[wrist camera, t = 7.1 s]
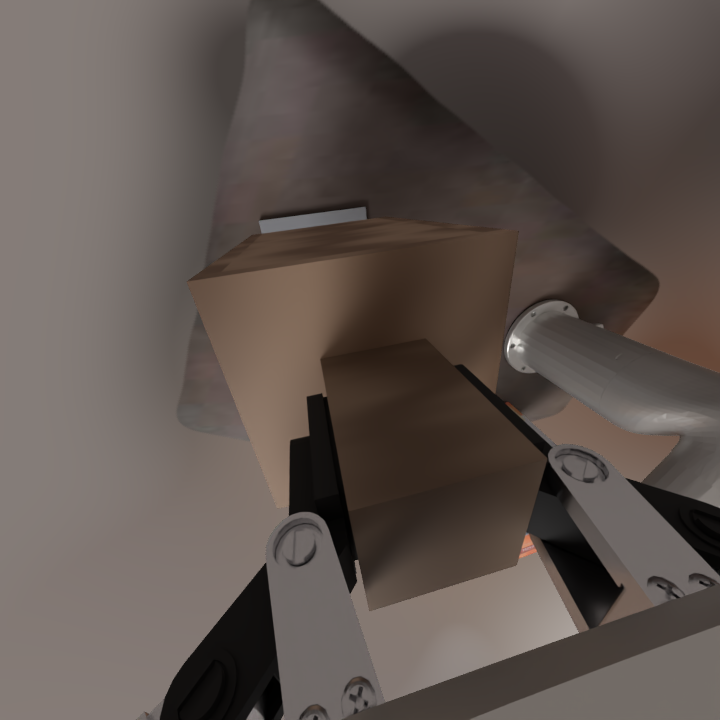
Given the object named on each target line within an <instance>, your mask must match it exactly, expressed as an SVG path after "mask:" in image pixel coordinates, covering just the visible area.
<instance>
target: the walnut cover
mask: <svg viewBox="0 0 720 720" xmlns="http://www.w3.org/2000/svg"><path fill="white" fill-rule="evenodd" d="M518 233H519V231H515V230H505V229H496V228H487V227H478V226H468V225H459V224H450V223H440V222H431V221H422V220H413V219H403V218H394V217H380V218H373V219H365V220H358V221H351V222H343V223H336V224H329V225H322V226H314V227H307V228H300V229H292V230H285V231H278V232H270V233H263V234H256V235H251V236H250V237H249V238H247V239H246V240H244V241H243V242H242V243H240V244H239V245H237V246H236V247H234V248H233V249H232V250H230V251H229V252H227V253H226V254H225V255H223V256H222V257H220V258H219V259H218V260H216V261H215V262H213V263H212V264H211V265H209V266H208V267H206V268H205V269H204V270H202V271H201V272H199V273H198V274H197V275H195V276H194V277H192V278H191V279H190V280H188V281H187V284H188V286H189V289H190V291H191V294H192V296H193V299H194V301H195V303H196V306H197V309H198V311H199V314H200V316H201V319H202V321H203V324H204V326H205V329H206V331H207V334H208V336H209V339H210V341H211V344H212V346H213V349H214V351H215V354H216V356H217V359H218V361H219V364H220V366H221V369H222V371H223V374H224V376H225V379H226V381H227V384H228V386H229V389H230V391H231V394H232V396H233V399H234V401H235V404H236V406H237V409H238V411H239V414H240V416H241V419H242V421H243V424H244V426H245V428H246V431H247V433H248V436H249V438H250V441H251V443H252V446H253V448H254V451H255V453H256V456H257V458H258V461H259V463H260V466H261V468H262V471H263V473H264V476H265V478H266V481H267V483H268V486H269V488H270V491H271V493H272V496H273V498H274V501H275V503H276V506H277V508H278V509H279V508H283V507H286V506H289V464H290V440H293V439H297V438H301V437H306V436H309V424H308V411H307V396H311V395H316V394H321V393H322V394H323V397H327V399H328V404H329V410H330V415H331V421H332V426H333V431H334V437H335V442H336V448H337V453H338V458H339V464H340V469H341V475H342V480H343V486H344V491H345V496H346V502H347V507H348V513H349V517H350V522H351V527H352V531H353V536H354V541H355V546H356V550H357V555H358V560H359V565H360V569H361V574H362V578H363V583H364V588H365V593H366V597H367V602H368V607H369V611H372V610H375V609H378V608H382V607H385V606H388V605H391V604H395V603H398V602H401V601H404V600H407V599H411V598H414V597H417V596H420V595H423V594H426V593H430V592H433V591H436V590H439V589H443V588H446V587H449V586H452V585H455V584H459V583H461V582H465V581H468V580H471V579H474V578H478V577H481V576H484V575H487V574H491V573H494V572H496V571H500V570H503V569H506V568H509V567H513V566H516V565H517V562H518V559H519V555H520V552H521V549H522V545H523V542H524V538H525V535H526V531H527V528H528V524H529V521H530V518H531V514H532V511H533V507H534V504H535V500H536V497H537V493H538V490H539V487H540V483H541V480H542V476H543V473H544V469H545V466H546V462H547V459H548V458H547V457H546V456H545V455H543V454H542V453H541V452H540V451H539V450H538V449H537V448H536V447H535V446H534V445H533V444H532V443H531V442H530V441H529V440H528V439H527V438H526V437H525V436H524V435H523V434H522V433H521V432H520V431H519V430H518V429H517V428H516V427H515V426H514V425H513V424H512V423H511V422H510V421H509V420H508V419H507V418H506V417H505V416H504V415H503V414H502V413H501V412H500V411H499V410H498V409H497V408H496V407H495V406H494V405H493V404H492V403H491V402H490V401H489V400H488V399H487V398H486V397H485V396H484V395H483V394H482V393H481V392H480V391H479V390H478V389H477V388H476V387H475V386H473V385H472V384H471V383H470V382H469V381H468V380H467V379H466V378H465V377H464V376H463V375H462V374H461V373H460V372H459V371H458V370H457V369H456V368H455V367H454V365H458V364H463V365H464V366H465V367H466V368H467V369H468V370H470V371H471V372H472V373H473V374H474V375H475V376H476V377H477V378H478V379H479V380H480V381H481V382H483V383H484V384H485V385H486V386H487V387H488V388H489V389H490V390H491V391H492V392H493V393H494V394H495V393H496V386H497V379H498V372H499V365H500V358H501V351H502V344H503V337H504V330H505V323H506V317H507V310H508V303H509V296H510V289H511V282H512V275H513V268H514V261H515V254H516V247H517V240H518Z"/></svg>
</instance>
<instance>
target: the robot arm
mask: <svg viewBox="0 0 720 720" xmlns="http://www.w3.org/2000/svg"><path fill="white" fill-rule="evenodd" d="M603 328H604V326H603V324H601V323H595V324H591V323H588V322H585V321H583V320H580V319H579V317H578V313H577V311H576V310H575V308H574V307H573V306H572V305H571V304H569V303H567V302H564V301H561V300H554V299H550V300H545V301H542V302H539V303H537V304H535V305H533V306H531V307H530V308H528V309H527V310H526V311H524V312H523V313H522V314H521V315H520V316H519V317H518V318H517V319H516V321H515V322H514V323H513V325H512V326H511V328H510V330H509V332H508V334H507V337H506V339H505V344H504V354H505V358H506V360H507V362H508V363H509V364H510V366H511V367H513V368H514V369H516V370H517V371H519V372H523V373H535V372H537V373H539V374H540V375H542V376H543V377H545V378H546V379H548V380H549V381H551V382H552V383H553V384H555V385H556V386H558V387H559V388H561V389H562V390H564V391H565V392H567V393H568V394H570V395H571V396H573V397H574V398H576V399H577V400H579V401H580V402H581V403H583V404H584V405H586V406H587V407H589V408H590V409H592V410H593V411H595V412H596V413H598V414H599V415H601V416H602V417H604V418H605V419H607V420H608V421H610V422H611V423H613V424H614V425H616V426H618V427H620V428H622V429H624V430H627V431H630V432H633V433H638V434H645V435H664V436H680V440H679V442H678V443H677V445H676V446H675V447H674V448H673V449H672V451H671V452H670V453H669V455H668V456H667V457H666V458H665V459H664V460H663V461H662V462H661V463H660V464H659V465H658V466H657V467H656V468H655V469H654V470H653V471H652V472H651V473H650V474H649V475H648V476H647V477H646V478H645V479H644V480H643V481H642V482H641V483H640V482H637V481H633V480H630V479H627V478H624V477H623V476H622V475H621V473H619V472H618V470H617V469H615V467H614V466H613V465H612V464H611V463H610V462H609V461H608V460H606V459H605V458H604V457H603V456H601V455H600V454H598V453H596V452H595V451H593V450H590V449H588V448H585V447H583V446H578V445H573V444H562V445H557V446H555V447H552V446H551V445H550V444H549V443H548V442H546V441H545V440H544V439H543V438H542V437H541V436H540V435H539V434H538V433H537V432H536V431H535V430H533V429H532V428H531V427H530V426H529V425H528V424H527V423H526V422H525V421H524V420H523V419H522V418H520V417H519V416H518V415H517V414H516V413H515V412H514V411H513V410H512V409H511V408H510V407H509V406H508V405H506V404H505V403H504V402H503V401H502V400H501V399H500V398H499V397H498V396H497V395H495V394H494V393H493V392H492V391H491V390H490V389H489V388H488V387H487V386H486V385H485V384H484V383H483V382H481V381H480V380H479V379H478V378H477V377H476V376H475V375H474V374H473V373H472V372H471V371H470V370H468V369H467V368H466V367H465V366H464V365H463V364H458V365H454V367H455V368H456V369H457V370H458V371H459V372H460V373H461V374H462V375H463V376H464V377H465V378H466V379H467V380H468V381H469V382H470V383H471V384H472V385H473V386H475V387H476V388H477V389H478V390H479V391H480V392H481V393H482V394H483V395H484V396H485V397H486V398H487V399H488V400H489V401H490V402H491V403H492V404H493V405H494V406H495V407H496V408H497V409H498V410H499V411H500V412H501V413H502V414H503V415H504V416H505V417H506V418H507V419H508V420H509V421H510V422H511V423H512V424H513V425H514V426H515V427H516V428H517V429H518V430H519V431H520V432H521V433H522V434H523V435H524V436H525V437H526V438H527V439H528V440H529V441H530V442H531V443H532V444H533V445H534V446H535V447H536V448H537V449H538V450H539V451H540V452H541V453H542V454H543V455H545V456H546V457H547V458H548V459H547V462H546V466H545V469H544V473H543V476H542V480H541V483H540V487H539V490H538V493H537V497H536V500H535V504H534V507H533V511H532V514H531V518H530V521H529V524H528V528H527V531H526V532H527V533H529V536H530V539H531V541H532V543H533V544H534V546H535V548H536V550H537V552H538V554H539V556H540V558H541V560H542V562H543V563H544V566H545V568H546V570H547V571H548V574H549V575H550V577H551V579H552V581H553V583H554V585H555V587H556V589H557V591H558V593H559V595H560V597H561V598H562V601H563V602H564V604H565V606H566V608H567V610H568V612H569V614H570V616H571V618H572V620H573V622H574V624H575V626H576V627H577V630H578V632H579V633H578V634H575V635H572V636H570V637H567V638H564V639H561V640H559V641H556V642H553V643H550V644H548V645H544V646H542V647H539V648H536V649H534V650H531V651H528V652H525V653H522V654H519V655H516V656H514V657H511V658H508V659H505V660H502V661H499V662H497V663H494V664H491V665H488V666H486V667H483V668H480V669H477V670H475V671H472V672H469V673H466V674H463V675H461V676H458V677H455V678H453V679H450V680H447V681H444V682H441V683H438V684H436V685H433V686H430V687H428V688H425V689H422V690H419V691H416V692H414V693H411V694H408V695H406V696H403V697H400V698H397V699H394V700H392V701H389V702H386V703H385V700H384V697H383V694H382V691H381V688H380V685H379V682H378V679H377V676H376V673H375V670H374V667H373V664H372V661H371V658H370V655H369V651H368V648H367V645H366V642H365V639H364V636H363V633H362V630H361V627H360V624H359V621H358V618H357V615H356V612H355V609H354V605H353V602H352V599H351V596H350V593H351V592H352V590H353V588H354V586H355V584H356V582H357V579H356V568H355V562H354V561H355V560H358V555H357V550H356V546H355V541H354V536H353V531H352V527H351V522H350V517H349V513H348V507H347V502H346V496H345V491H344V486H343V480H342V475H341V469H340V464H339V458H338V453H337V448H336V442H335V437H334V431H333V426H332V421H331V415H330V410H329V404H328V399H327V397H323V394H322V393H321V394H316V395H311V396H307V411H308V424H309V436H306V437H301V438H297V439H293V440H290V464H289V517H287V518H285V519H284V520H282V522H280V523H279V524H278V525H277V526H276V527H275V529H274V530H273V532H272V533H271V535H270V537H269V540H268V542H267V545H266V563H265V564H264V566H263V567H262V568H261V570H260V571H259V572H258V573H257V574H256V576H255V577H254V578H253V579H252V581H251V582H250V583H249V584H248V585H247V587H246V588H245V589H244V590H243V592H242V593H241V594H240V595H239V597H238V598H237V599H236V600H235V601H234V603H233V604H232V605H231V606H230V608H229V609H228V610H227V611H226V612H225V614H224V615H223V616H222V617H221V619H220V620H219V621H218V622H217V624H216V625H215V626H214V627H213V629H212V630H211V631H210V632H209V634H208V635H207V636H206V637H205V638H204V640H203V641H202V642H201V643H200V645H199V646H198V647H197V648H196V650H195V651H194V652H193V653H192V654H191V656H190V657H189V658H188V659H187V661H186V662H185V663H184V665H183V666H182V667H181V669H180V670H179V672H178V673H177V675H176V676H175V678H174V679H173V681H172V684H171V685H170V688H169V690H168V692H167V694H166V696H165V699H164V700H163V701H162V702H161V703H160V704H159V705H158V706H157V707H156V708H155V709H154V710H153V711H152V712H151V713H150V714H149V713H147V712H144V713H143V714H142V715H141V716H140V717H138V718H137V719H136V720H281V718H282V716H283V715H284V718H285V720H720V373H718V372H715V371H712V370H710V369H707V368H704V367H702V366H699V365H696V364H693V363H690V362H688V361H685V360H683V359H680V358H677V357H675V356H672V355H670V354H667V353H665V352H662V351H659V350H657V349H654V348H651V347H649V346H646V345H644V344H641V343H639V342H636V341H634V340H631V339H629V338H626V337H624V336H621V335H619V334H616V333H614V332H611V331H608V330H606V329H603Z"/></svg>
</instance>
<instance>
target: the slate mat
mask: <svg viewBox="0 0 720 720" xmlns="http://www.w3.org/2000/svg"><path fill="white" fill-rule="evenodd" d="M365 219H367V217H366V207H359V208H352V209H344V210H337V211H329V212H321V213H314V214H306V215H298V216H291V217H283V218H276V219H268V220H260V221H259V224H260V228H261V232H262V234H263V233H270V232H278V231H285V230H292V229H300V228H307V227H314V226H322V225H329V224H336V223H343V222H351V221H358V220H365Z"/></svg>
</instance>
